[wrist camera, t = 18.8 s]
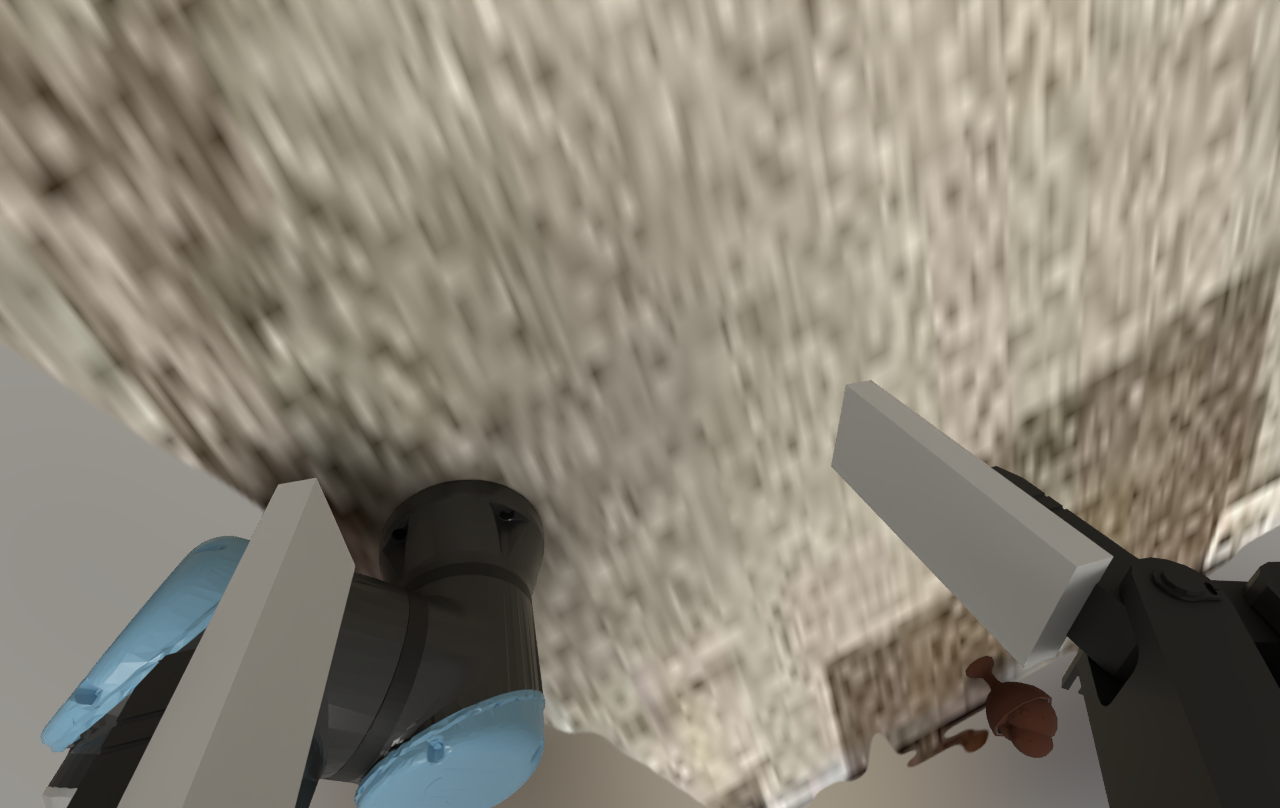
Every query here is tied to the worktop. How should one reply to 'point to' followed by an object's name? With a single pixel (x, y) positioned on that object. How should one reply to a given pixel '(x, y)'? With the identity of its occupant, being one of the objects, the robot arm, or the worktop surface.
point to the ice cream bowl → (1017, 711)
